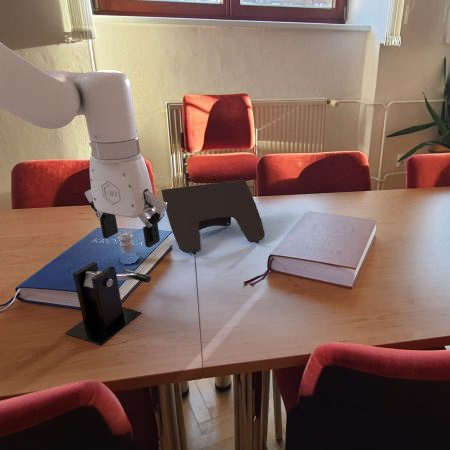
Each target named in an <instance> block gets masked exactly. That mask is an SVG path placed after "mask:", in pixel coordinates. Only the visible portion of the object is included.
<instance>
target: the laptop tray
mask: <svg viewBox="0 0 450 450" xmlns="http://www.w3.org/2000/svg"><path fill="white" fill-rule="evenodd" d="M160 191H161V196H162V200H163V201H164V202H166V203H167V208H166V211H165V214H166V216H167V219H168V222H169V226H170V228H171V229H170V230H171V232H172V235H173V237H174V239H175V241H176V244H177V246H178V249H179V250H180V251H181V252H183V253H185V254H191V256H192V257H193V258H195V257H196V256H197V253H200V252H201V250H202V246H201V245H202V244H201V241H202V240H201V233H200V231H201V230H203V229H207V228H210V227H230V226H231V225H232V218H233V219H234V220H235V221H236V223H237V225H238V227H239V229H240V231H241V232H242V234H243V236H244V237H245V239H246V240H247V242H248V243H251V244H252V243H253V244H254V246H259V244H260V241H262V240H263V239H264V238H265V235H266V233H265V229H264V225H263V222H262V217H261V215H260V211H259V210H258V207H257V204H256V202H255V198H254V196H253V194H252V192H251V189H250V188H249V185H248V183H247V181H246V179H239V180H231V181H223V182H214V183H205V184H198V185H197V184H196V185H190V186H189V185H187V186H179V187H172V188H164V189H163V188H162V189H161V190H160Z"/></svg>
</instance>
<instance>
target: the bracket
mask: <svg viewBox="0 0 450 450" xmlns="http://www.w3.org/2000/svg"><path fill="white" fill-rule="evenodd" d="M90 271H100V269H99V264H98V262H95V261H92V262H90V263H89V264H86V265H85V266H83V267H82V268H80V269H78V270H76V271H74V272H73V273H72V276H73V280H74V281H73V282H74V285H75V288H76V294H77V298H78V302H79V307H80V312H81V317H82V320H81V321H79V322H78V323H76V324H75V325H74V326H73V327H71V328H70V329H69V330H67V331H66V332H65V333H64V334H65V335H66V336H69V337H72V338H76V339H79V340H81V341H85V342H88V343H91V344H93V345H94V344H95V345H97V346H100V347H102V346H103V345H105V344H106V343H107V342H108V341H110V340H111V339H112V338H113V337H115V336H116V335H117V334H118V333H120V331H122V330H123V329H125V328H126V327H127V326H128V325H129V324H130V323H132V322H133V321H134V320H136V319H137V318H138V317H139V316H141V315H142V314H143V313H142V311H139V310H136V309H132V308H128V307H124V306H123V303H122V298H121V292H120V287H119V281H118V280H117V275H116V274H117V270H116V266H109V267H107V268H106V269H103V270H102V271H101V273H99V274H98V275H96V276H94V277H93V278H91V279H92V284H93V288H91V287H87V286H84V281H85V275H86V272H90Z"/></svg>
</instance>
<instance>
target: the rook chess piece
mask: <svg viewBox="0 0 450 450" xmlns="http://www.w3.org/2000/svg"><path fill="white" fill-rule="evenodd" d="M133 237H134V235H133V234H132V232H131V230H123V231H119V232H118V236H117V240H118V241H120V242H119V245H120V248H121V249H120V253H121V252H122V253H124V254H126V253H130V252H133V251H135V248H134V246H133V245H134V241H133V240H132V239H133Z"/></svg>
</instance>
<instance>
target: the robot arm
mask: <svg viewBox="0 0 450 450" xmlns="http://www.w3.org/2000/svg"><path fill="white" fill-rule="evenodd" d="M0 108H1V109H4V110H6V111H7V112H9V113H11V114H12V115H14V116H15V117H18V118H19V119H21V120H23V121H25V122H27V123H29V124H32V125H34V126H36V127H40V128H43V129H48V130H55V129H60V128H63V127H66V126H68V125H69V124H70V123H72V121H73V120H74V119H75V118H76V117H77V116H82V115H83V116H84V118H85V123H86V127H87V132H88V137H89V138H88V139H89V141H88V145H89V147H90V148H91V153H92V155H91V156H90V158H89V181H90V182H89V183H90V189H88V190H86V191H85V192H84V196H85V197H86V199H87V200H88V203H89V206H90V208H92V209H93V211H94V212H95V217H96V218H97V219H99V223H100V227H101V233H102V238H103V239H108V238H111V237H113V236H114V235H116V234H119V229H118V228H119V227H118V223H117V218H116V216H118V217H125V218H131V219H135V218H139V220H140V221H141V222H142V223H143V225H144V226H143V227H142V231H143V237H144V244H145V247H146V248H148V249H149V248H151V247H153V246H155V245H156V244H158V243H160V241H161V237H160V231H159V225H158V224H159V223H160V222H161V221H162V219H163V218H164V217H165V214H166V208H167V203H166V202H164V200H163V198H160V197H158V196H157V194H154V191H153V186H152V182H151V181H152V180H151V177H150V174H149V170H148V167H147V164H146V161H145V158H144V156H143V155H141V147H140V141H139V134H138V127H137V121H136V114H135V108H134V99H133V93H132V86H131V82H130V78H129V76H128V75H127V74H126V73H124V72H123V71H117V70H95V71H93V70H92V71H87V72H74V71H65V70H56V69H55V70H52V69H50V70H44V69H41V68H40V67H39V66H37V65H35V64H34V63H32V62H30V60H27V59H26V58H24V57H22V56H21V55H20V54H18V53H16V52H15V51H14V50H12V49H10V47H8V46H6V45H5V44H3V43H2V42H1V41H0Z"/></svg>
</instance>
